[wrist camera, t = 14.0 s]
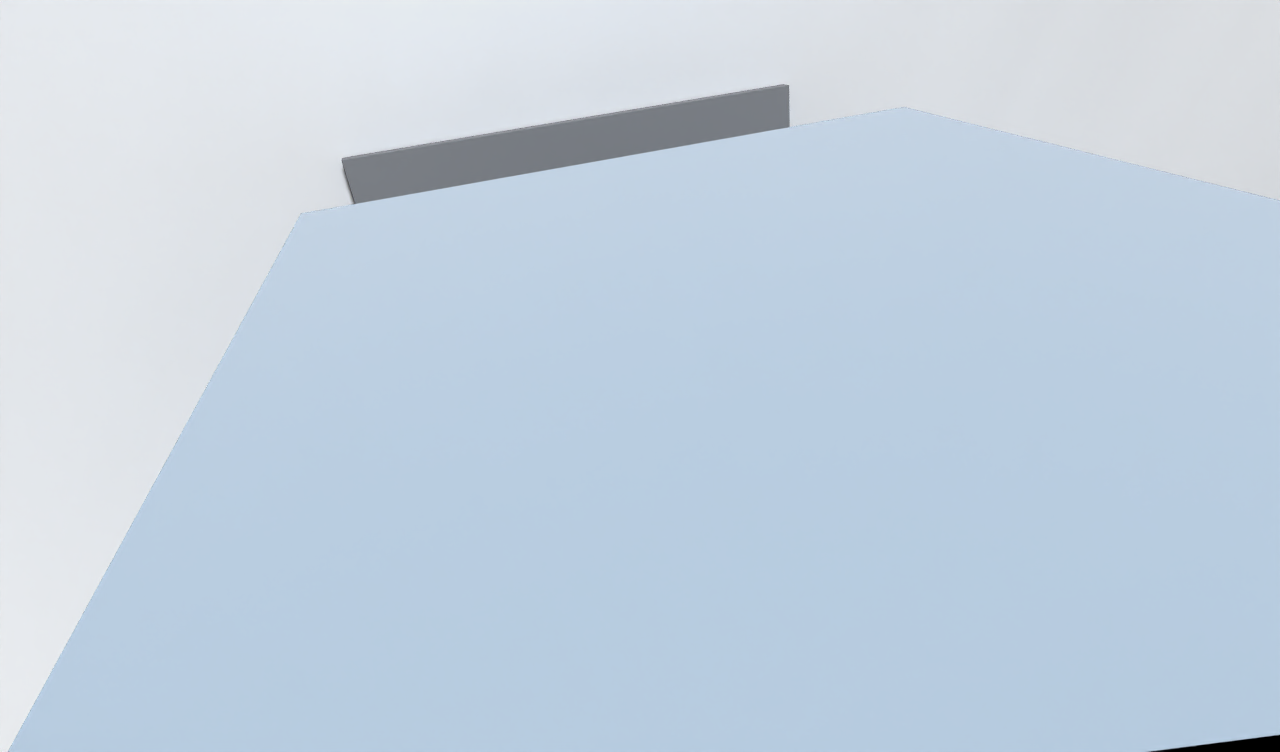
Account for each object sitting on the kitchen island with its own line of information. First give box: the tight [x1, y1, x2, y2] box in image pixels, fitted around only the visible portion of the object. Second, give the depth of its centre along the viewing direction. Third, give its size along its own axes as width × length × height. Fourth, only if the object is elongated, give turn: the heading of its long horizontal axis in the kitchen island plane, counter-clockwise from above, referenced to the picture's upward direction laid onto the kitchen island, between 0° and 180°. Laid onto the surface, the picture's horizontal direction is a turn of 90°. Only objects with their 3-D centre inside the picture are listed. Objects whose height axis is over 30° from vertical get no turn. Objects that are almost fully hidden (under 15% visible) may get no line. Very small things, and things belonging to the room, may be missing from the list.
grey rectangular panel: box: [342, 84, 789, 204], centre depth 14 cm, size 7×12×1 cm, turn 7°
